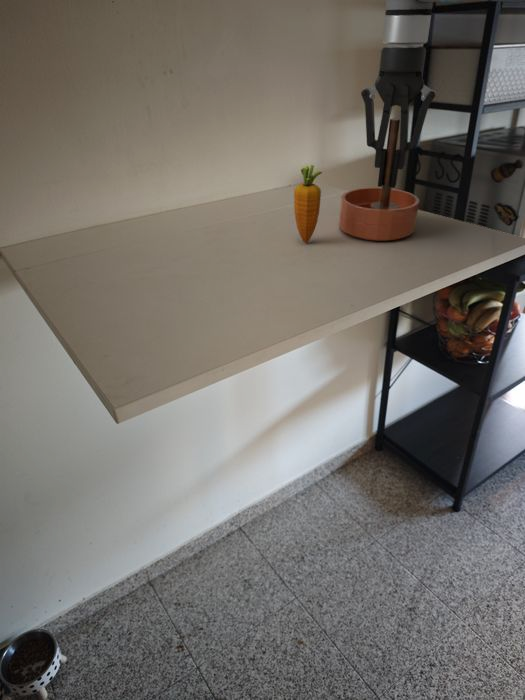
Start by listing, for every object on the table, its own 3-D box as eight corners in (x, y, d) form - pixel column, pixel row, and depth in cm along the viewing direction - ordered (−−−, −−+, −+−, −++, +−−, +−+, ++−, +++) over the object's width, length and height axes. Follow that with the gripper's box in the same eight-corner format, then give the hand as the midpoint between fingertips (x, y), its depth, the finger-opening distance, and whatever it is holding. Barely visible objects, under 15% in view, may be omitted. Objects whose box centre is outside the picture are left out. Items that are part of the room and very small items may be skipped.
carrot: (306, 236, 101) (308, 159, 93) (323, 243, 98) (328, 164, 90) (287, 242, 99) (289, 164, 91) (305, 249, 96) (308, 169, 87)
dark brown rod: (398, 214, 103) (412, 117, 93) (395, 223, 99) (409, 122, 89) (371, 211, 105) (381, 116, 95) (367, 220, 101) (377, 121, 90)
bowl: (417, 220, 108) (422, 190, 105) (409, 246, 96) (415, 213, 93) (347, 214, 113) (349, 184, 109) (331, 237, 101) (333, 206, 97)
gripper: (450, 44, 86) (427, 183, 99) (364, 44, 90) (353, 177, 103) (448, 46, 80) (424, 193, 93) (356, 46, 84) (345, 187, 98)
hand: (387, 185), depth 98 cm, fingers closed on dark brown rod, 2 cm apart
